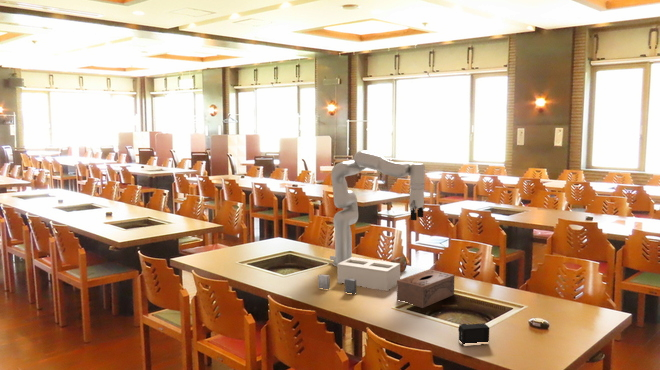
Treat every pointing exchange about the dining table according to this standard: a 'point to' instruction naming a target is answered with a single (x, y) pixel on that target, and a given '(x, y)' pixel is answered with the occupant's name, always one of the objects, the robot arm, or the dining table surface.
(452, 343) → the dining table surface
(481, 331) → the digital camera
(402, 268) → the tin
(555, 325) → the dining table surface
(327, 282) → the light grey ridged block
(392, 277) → the white rectangular block
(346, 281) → the brushed metal block
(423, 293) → the tissue box cover
